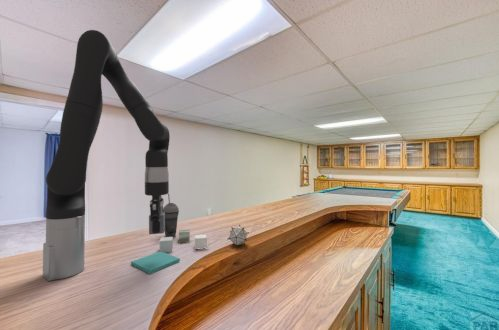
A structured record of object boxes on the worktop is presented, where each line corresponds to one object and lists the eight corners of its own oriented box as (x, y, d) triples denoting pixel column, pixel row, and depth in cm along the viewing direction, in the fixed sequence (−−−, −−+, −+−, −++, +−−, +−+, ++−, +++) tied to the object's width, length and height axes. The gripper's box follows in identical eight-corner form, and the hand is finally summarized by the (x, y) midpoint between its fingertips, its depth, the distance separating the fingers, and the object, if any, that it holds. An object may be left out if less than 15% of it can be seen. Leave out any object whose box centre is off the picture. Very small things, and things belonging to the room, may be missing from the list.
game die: (237, 252, 95) (240, 229, 101) (251, 249, 90) (254, 226, 96) (221, 245, 90) (225, 222, 96) (235, 242, 85) (239, 218, 91)
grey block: (172, 252, 85) (172, 240, 85) (159, 253, 84) (159, 241, 84) (172, 247, 89) (172, 236, 89) (160, 248, 88) (161, 237, 88)
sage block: (189, 242, 96) (189, 231, 96) (178, 242, 95) (178, 232, 95) (189, 238, 100) (189, 228, 101) (179, 239, 99) (179, 229, 99)
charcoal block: (163, 233, 74) (163, 215, 74) (149, 234, 73) (148, 216, 73) (164, 229, 78) (164, 212, 78) (151, 230, 77) (151, 213, 77)
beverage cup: (175, 239, 99) (176, 194, 99) (159, 239, 99) (159, 194, 99) (180, 234, 106) (181, 192, 106) (165, 234, 106) (166, 192, 107)
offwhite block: (206, 249, 88) (206, 237, 88) (194, 250, 87) (195, 238, 87) (205, 245, 93) (205, 234, 93) (194, 246, 91) (194, 235, 91)
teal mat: (149, 274, 67) (149, 270, 67) (131, 264, 74) (131, 261, 74) (179, 261, 76) (179, 258, 76) (160, 253, 83) (160, 251, 83)
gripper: (166, 181, 69) (167, 236, 70) (170, 178, 83) (170, 224, 83) (140, 182, 67) (140, 238, 68) (148, 179, 81) (148, 225, 81)
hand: (157, 230), depth 75 cm, fingers closed on charcoal block, 4 cm apart
